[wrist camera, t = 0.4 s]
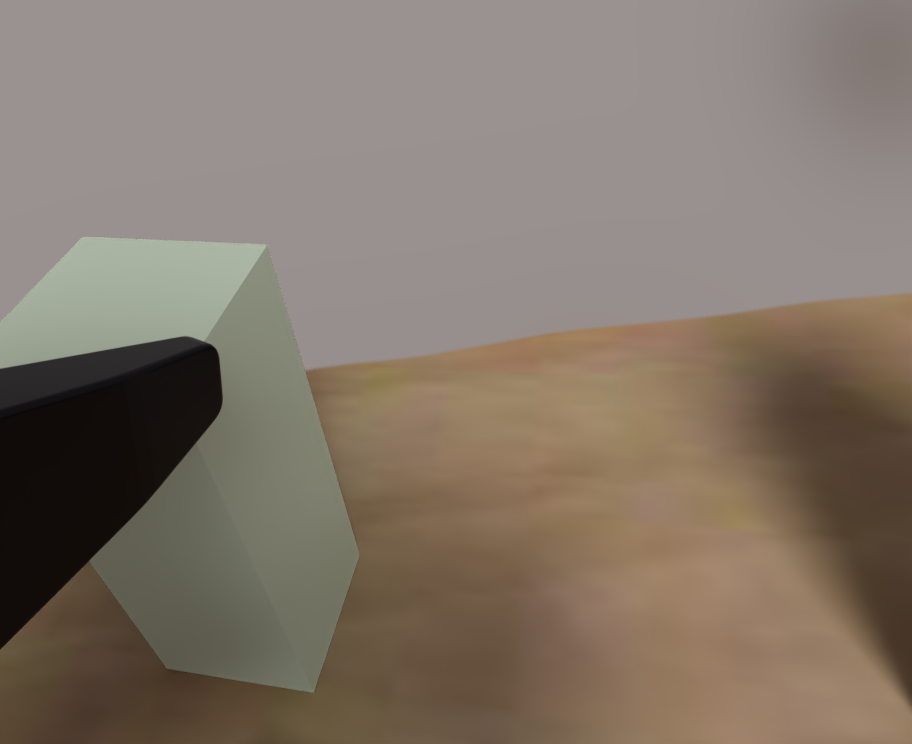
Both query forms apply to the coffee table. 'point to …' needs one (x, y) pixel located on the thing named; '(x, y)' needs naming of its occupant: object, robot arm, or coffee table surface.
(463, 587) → the coffee table surface
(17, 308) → the sage block
